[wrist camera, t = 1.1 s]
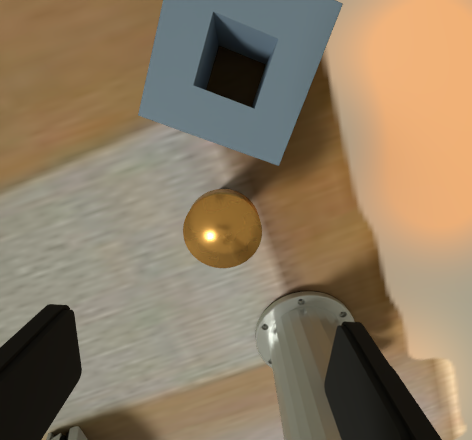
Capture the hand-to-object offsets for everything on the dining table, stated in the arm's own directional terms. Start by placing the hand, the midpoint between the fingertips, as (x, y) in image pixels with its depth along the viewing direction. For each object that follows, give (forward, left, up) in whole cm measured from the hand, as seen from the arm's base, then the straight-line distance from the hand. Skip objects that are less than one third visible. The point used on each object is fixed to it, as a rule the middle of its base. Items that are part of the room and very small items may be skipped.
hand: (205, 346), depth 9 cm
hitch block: (+3, -12, -20) cm, 23 cm away
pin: (0, 0, -20) cm, 20 cm away
